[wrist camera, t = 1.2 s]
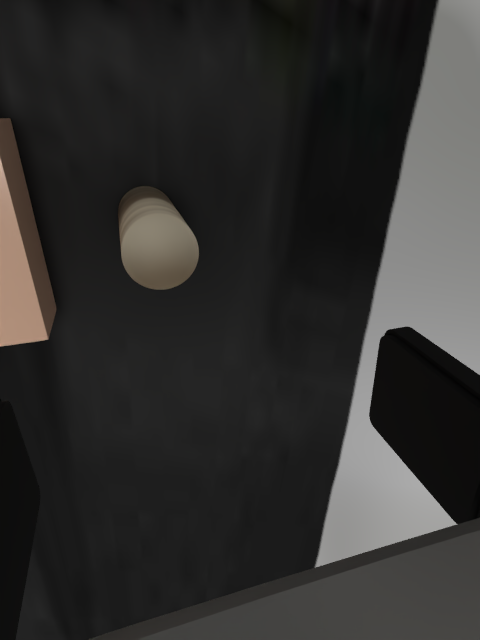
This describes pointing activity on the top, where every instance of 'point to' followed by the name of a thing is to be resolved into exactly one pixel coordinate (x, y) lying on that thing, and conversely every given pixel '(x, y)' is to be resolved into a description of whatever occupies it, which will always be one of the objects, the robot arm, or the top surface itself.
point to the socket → (20, 255)
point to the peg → (155, 239)
